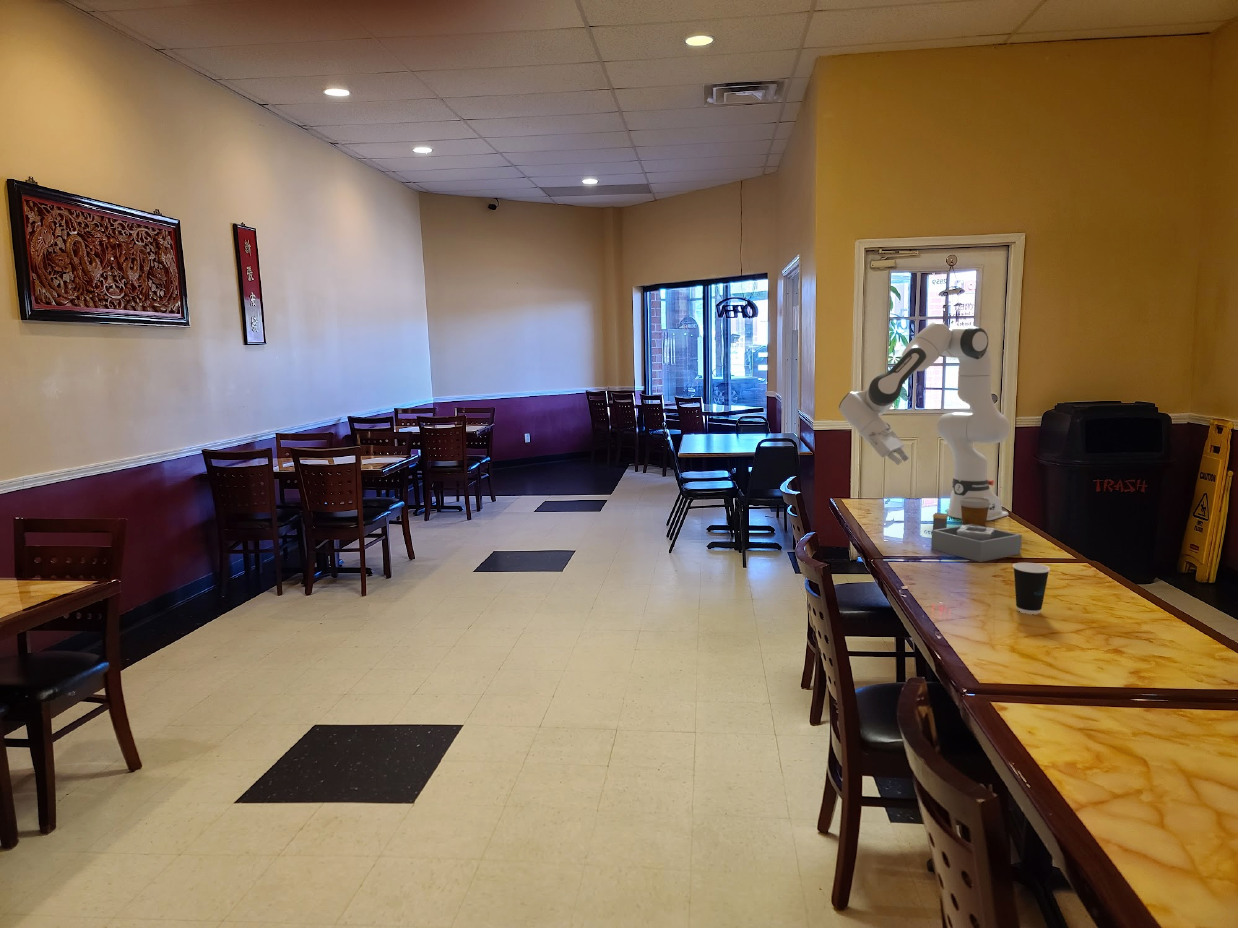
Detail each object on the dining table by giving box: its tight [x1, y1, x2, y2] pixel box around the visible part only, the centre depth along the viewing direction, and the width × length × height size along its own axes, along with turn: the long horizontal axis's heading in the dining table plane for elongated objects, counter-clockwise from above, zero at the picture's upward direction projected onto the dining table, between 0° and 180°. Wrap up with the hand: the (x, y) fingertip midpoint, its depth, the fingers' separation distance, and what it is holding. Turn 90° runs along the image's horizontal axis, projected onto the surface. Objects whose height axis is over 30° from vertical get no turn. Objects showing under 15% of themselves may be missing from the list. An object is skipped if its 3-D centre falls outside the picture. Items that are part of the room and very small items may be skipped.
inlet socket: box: [957, 524, 996, 541], centre depth 239 cm, size 9×9×6 cm
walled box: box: [930, 524, 1023, 563], centre depth 239 cm, size 18×18×6 cm
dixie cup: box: [1012, 562, 1051, 615], centre depth 184 cm, size 8×8×11 cm
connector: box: [932, 512, 949, 530], centre depth 257 cm, size 4×4×8 cm
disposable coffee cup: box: [960, 497, 990, 527], centre depth 261 cm, size 10×10×12 cm
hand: (903, 461), depth 261 cm, fingers open, 8 cm apart
